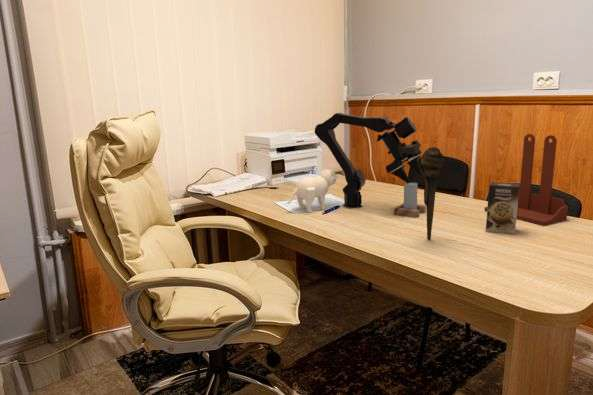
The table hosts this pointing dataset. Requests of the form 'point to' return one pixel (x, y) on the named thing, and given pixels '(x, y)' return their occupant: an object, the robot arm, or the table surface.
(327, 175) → the cat figurine
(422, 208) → the slot block
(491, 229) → the coffee box
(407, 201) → the peg
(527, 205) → the hanging shelf
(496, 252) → the table surface
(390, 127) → the robot arm
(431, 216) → the decorative torch
